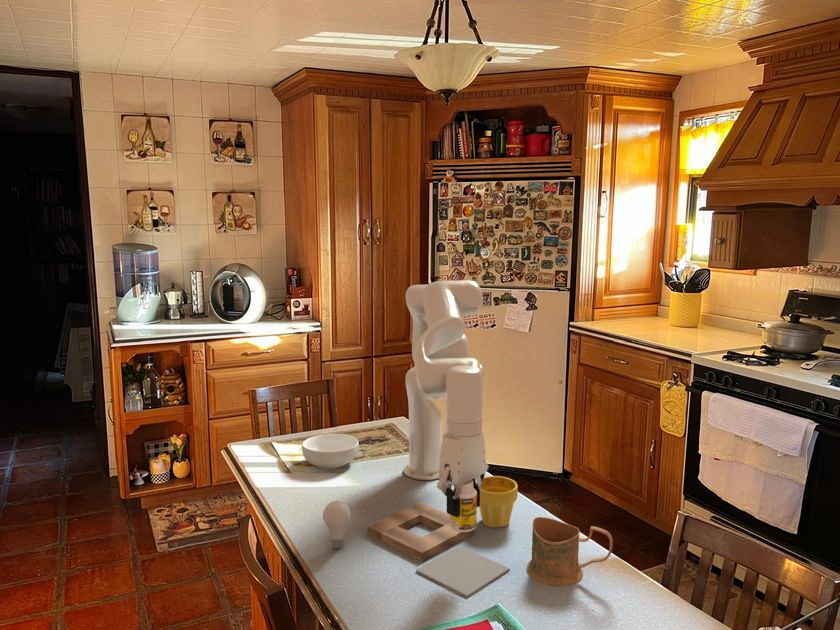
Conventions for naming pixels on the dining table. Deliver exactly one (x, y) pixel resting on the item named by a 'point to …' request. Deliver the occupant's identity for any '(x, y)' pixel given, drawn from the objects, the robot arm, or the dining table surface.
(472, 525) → the supplement bottle
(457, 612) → the dining table surface
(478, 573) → the grey mat
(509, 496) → the plant pot
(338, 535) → the lightbulb
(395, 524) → the wooden square frame
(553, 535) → the mug
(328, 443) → the cereal bowl
